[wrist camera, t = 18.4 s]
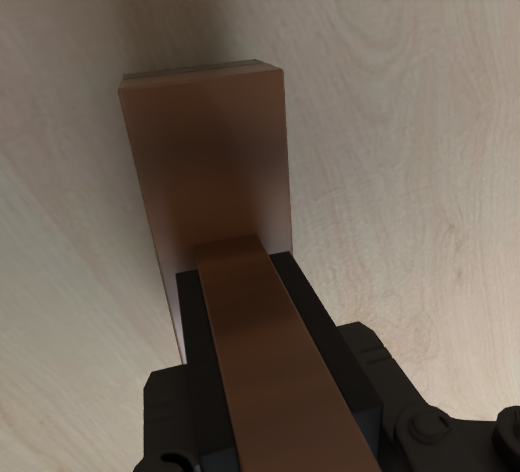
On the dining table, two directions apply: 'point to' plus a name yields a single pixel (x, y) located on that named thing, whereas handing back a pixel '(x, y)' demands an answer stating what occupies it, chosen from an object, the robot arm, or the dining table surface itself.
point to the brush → (238, 255)
